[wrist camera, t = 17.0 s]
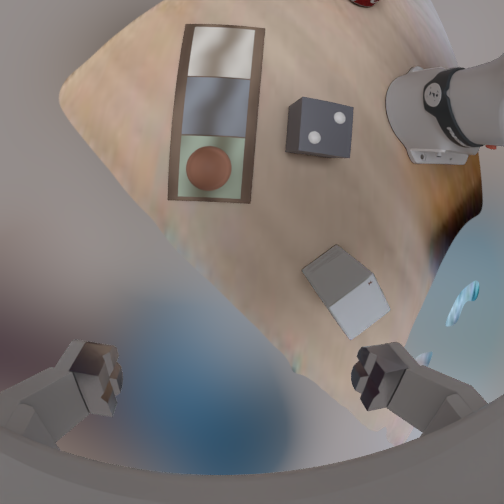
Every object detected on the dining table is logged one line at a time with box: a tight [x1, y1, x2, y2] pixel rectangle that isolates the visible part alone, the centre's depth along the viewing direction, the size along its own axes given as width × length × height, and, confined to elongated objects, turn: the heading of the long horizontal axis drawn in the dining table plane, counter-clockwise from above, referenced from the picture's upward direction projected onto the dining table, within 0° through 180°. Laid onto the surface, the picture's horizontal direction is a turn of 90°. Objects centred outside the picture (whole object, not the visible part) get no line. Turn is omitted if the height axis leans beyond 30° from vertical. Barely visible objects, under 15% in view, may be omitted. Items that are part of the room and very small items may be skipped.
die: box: [285, 97, 353, 158], centre depth 35 cm, size 7×7×7 cm
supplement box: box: [302, 245, 390, 340], centre depth 40 cm, size 7×7×13 cm
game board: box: [168, 24, 265, 204], centre depth 36 cm, size 12×28×1 cm, turn 175°
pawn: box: [186, 146, 232, 191], centre depth 32 cm, size 5×5×14 cm
